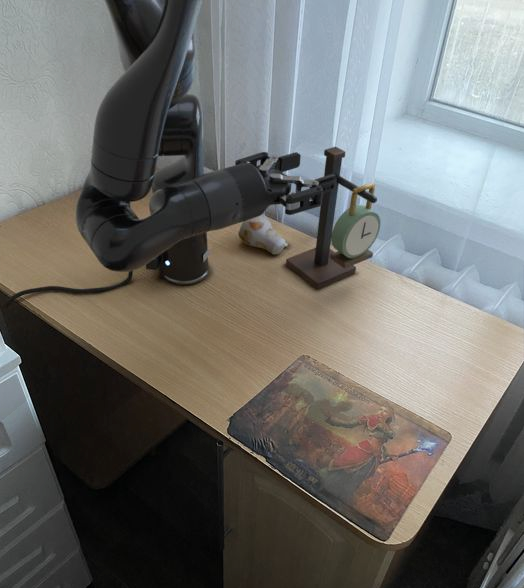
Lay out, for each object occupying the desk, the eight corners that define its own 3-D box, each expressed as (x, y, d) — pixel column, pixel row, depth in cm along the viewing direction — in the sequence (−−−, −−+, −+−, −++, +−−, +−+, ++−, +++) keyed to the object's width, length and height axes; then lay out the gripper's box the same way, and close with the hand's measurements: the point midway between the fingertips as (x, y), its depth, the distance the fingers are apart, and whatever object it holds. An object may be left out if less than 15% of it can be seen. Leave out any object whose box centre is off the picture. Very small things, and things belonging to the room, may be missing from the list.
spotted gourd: (276, 265, 109) (253, 223, 104) (248, 263, 117) (225, 225, 112) (299, 243, 112) (277, 202, 107) (270, 243, 120) (249, 205, 115)
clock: (340, 270, 96) (352, 197, 86) (325, 260, 98) (336, 187, 88) (376, 255, 100) (392, 184, 90) (361, 245, 102) (375, 174, 92)
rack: (376, 288, 104) (402, 167, 88) (338, 306, 100) (358, 182, 83) (323, 250, 114) (337, 134, 97) (285, 265, 109) (294, 146, 92)
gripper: (256, 194, 67) (352, 164, 74) (197, 152, 75) (289, 128, 82) (254, 245, 72) (344, 212, 79) (200, 200, 80) (286, 174, 87)
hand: (316, 169), depth 81 cm, fingers open, 8 cm apart
